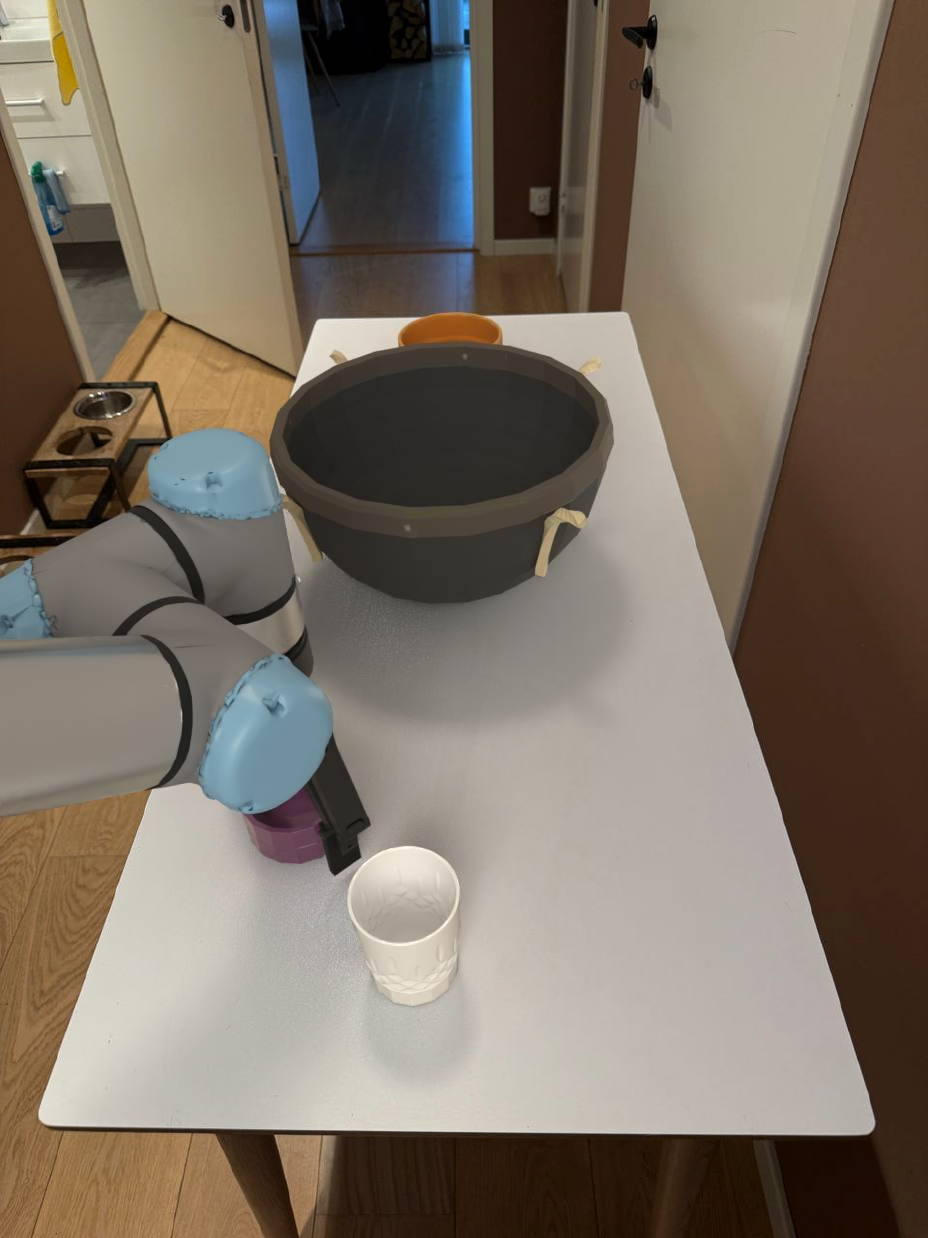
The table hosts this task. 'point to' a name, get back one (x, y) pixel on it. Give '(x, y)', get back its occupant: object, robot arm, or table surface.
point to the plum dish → (288, 831)
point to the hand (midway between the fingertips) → (301, 814)
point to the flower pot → (451, 329)
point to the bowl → (442, 466)
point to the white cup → (407, 922)
